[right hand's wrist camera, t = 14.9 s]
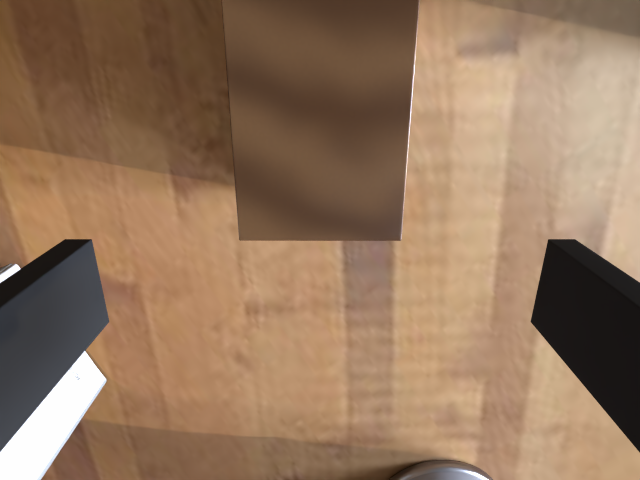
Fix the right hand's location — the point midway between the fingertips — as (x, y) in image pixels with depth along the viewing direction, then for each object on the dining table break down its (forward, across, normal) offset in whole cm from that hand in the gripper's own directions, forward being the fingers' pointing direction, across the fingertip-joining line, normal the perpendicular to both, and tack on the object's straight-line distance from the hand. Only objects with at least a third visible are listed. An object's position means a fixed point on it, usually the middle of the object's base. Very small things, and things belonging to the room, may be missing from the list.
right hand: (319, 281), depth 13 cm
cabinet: (+26, 0, -4) cm, 26 cm away
